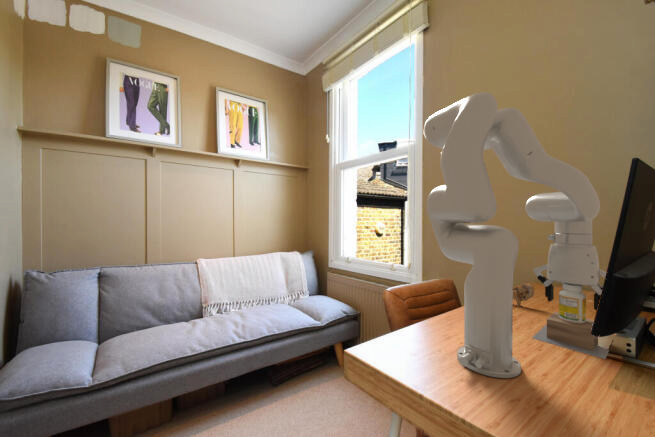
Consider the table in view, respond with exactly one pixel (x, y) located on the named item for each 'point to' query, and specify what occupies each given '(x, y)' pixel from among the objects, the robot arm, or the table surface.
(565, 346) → the base plate
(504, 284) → the robot arm
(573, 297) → the supplement bottle
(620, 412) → the table surface
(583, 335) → the walnut block
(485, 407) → the table surface
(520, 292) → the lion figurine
